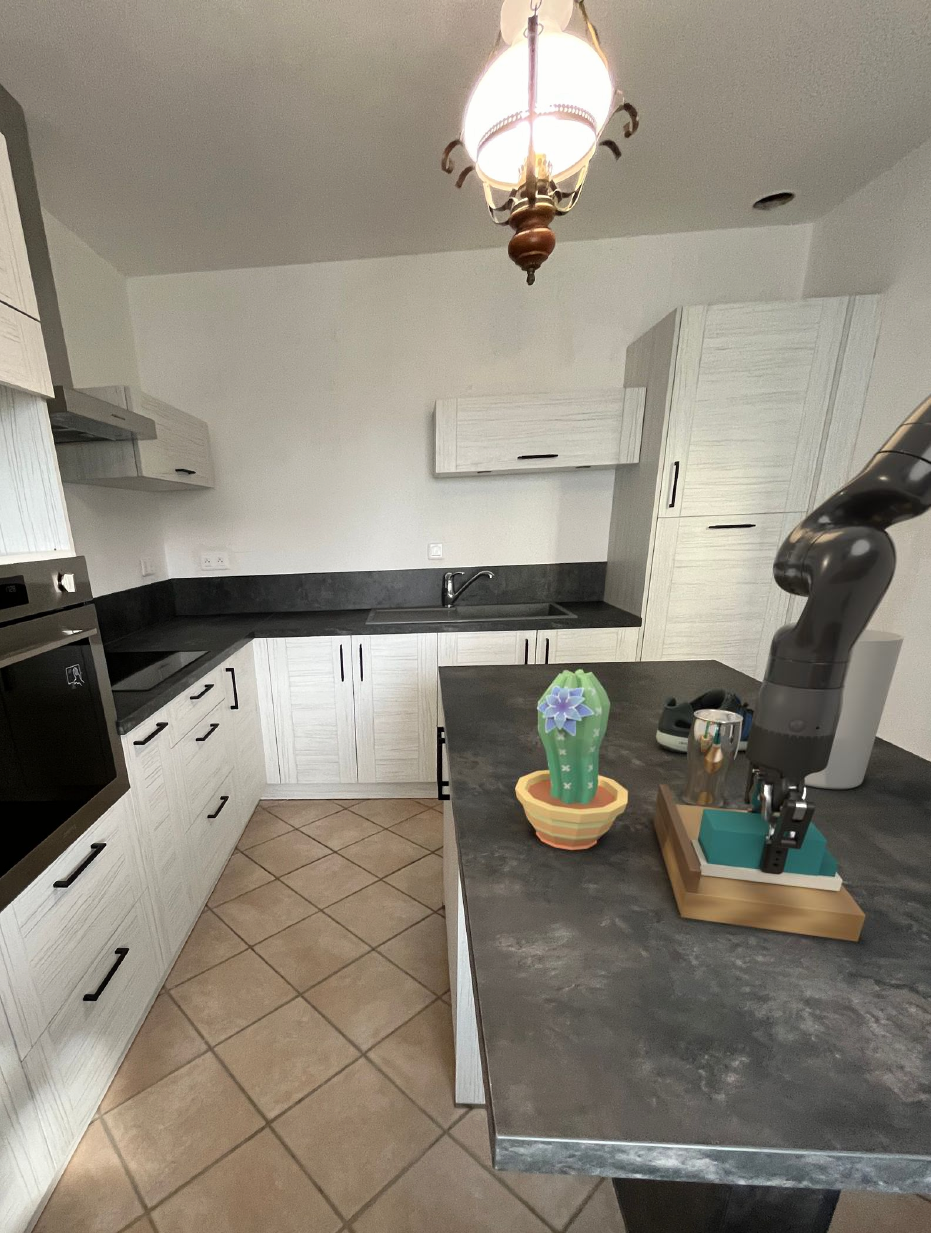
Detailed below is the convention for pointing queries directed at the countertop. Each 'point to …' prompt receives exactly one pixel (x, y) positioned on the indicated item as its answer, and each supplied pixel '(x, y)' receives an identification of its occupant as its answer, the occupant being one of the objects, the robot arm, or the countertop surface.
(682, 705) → the water shoe
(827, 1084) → the countertop surface
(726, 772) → the silver metal cup
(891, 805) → the countertop surface
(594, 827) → the potted cactus
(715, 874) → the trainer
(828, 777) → the cylinder vase
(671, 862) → the wooden board with lip
